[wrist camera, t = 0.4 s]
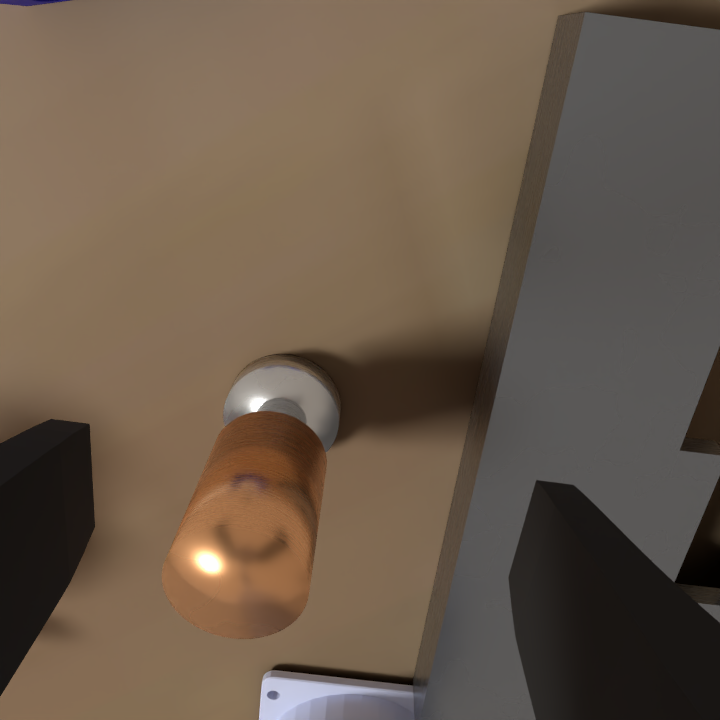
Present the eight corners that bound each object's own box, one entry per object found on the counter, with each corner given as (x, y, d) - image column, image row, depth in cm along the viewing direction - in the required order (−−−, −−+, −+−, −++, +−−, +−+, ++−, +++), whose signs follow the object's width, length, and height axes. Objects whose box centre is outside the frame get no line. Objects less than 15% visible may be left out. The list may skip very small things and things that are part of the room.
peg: (335, 457, 23) (311, 653, 15) (228, 444, 22) (153, 636, 15) (346, 361, 21) (325, 530, 14) (232, 347, 21) (150, 509, 14)
